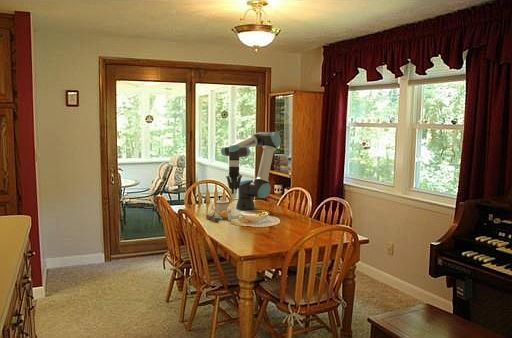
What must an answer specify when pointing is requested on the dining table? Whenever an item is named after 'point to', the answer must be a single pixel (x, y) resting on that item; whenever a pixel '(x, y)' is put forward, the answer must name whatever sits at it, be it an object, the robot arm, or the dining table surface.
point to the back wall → (212, 218)
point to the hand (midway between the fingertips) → (233, 198)
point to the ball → (224, 214)
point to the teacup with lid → (220, 206)
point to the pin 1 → (215, 215)
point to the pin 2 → (229, 214)
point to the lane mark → (231, 217)
